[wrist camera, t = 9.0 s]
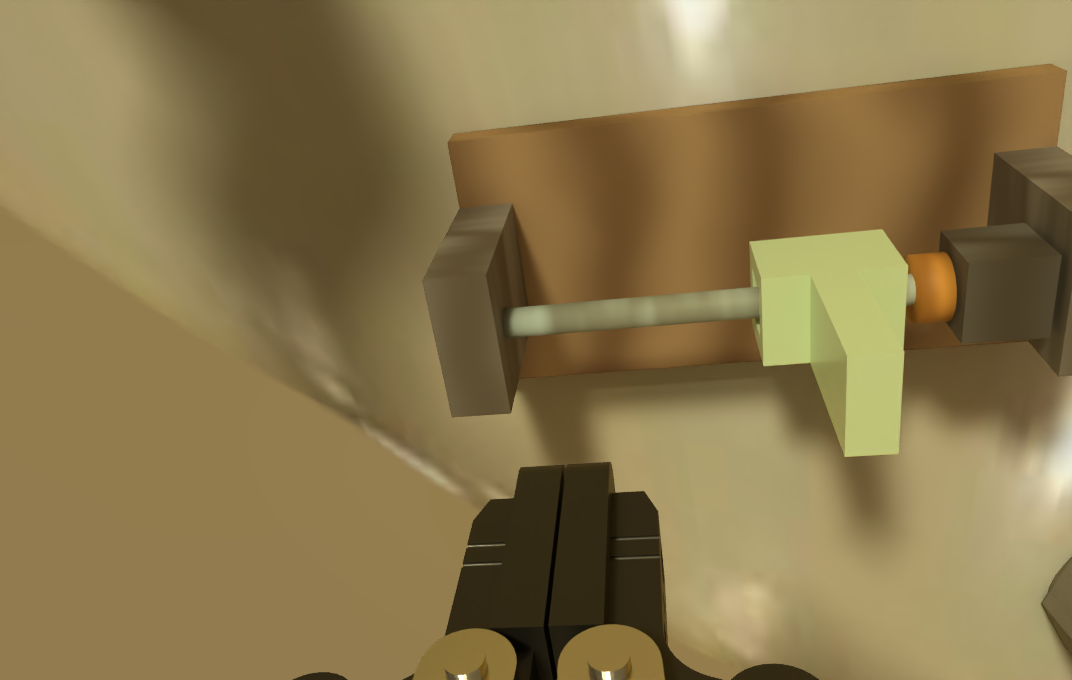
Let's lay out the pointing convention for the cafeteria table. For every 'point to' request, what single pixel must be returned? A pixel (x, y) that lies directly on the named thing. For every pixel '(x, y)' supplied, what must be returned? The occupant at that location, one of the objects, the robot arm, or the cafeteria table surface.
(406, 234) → the cafeteria table surface
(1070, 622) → the coffeepot
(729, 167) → the lead screw stage
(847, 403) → the pale green tee block
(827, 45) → the cafeteria table surface
